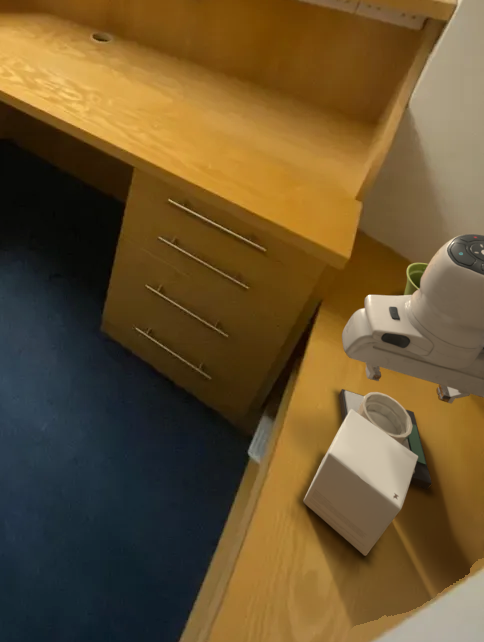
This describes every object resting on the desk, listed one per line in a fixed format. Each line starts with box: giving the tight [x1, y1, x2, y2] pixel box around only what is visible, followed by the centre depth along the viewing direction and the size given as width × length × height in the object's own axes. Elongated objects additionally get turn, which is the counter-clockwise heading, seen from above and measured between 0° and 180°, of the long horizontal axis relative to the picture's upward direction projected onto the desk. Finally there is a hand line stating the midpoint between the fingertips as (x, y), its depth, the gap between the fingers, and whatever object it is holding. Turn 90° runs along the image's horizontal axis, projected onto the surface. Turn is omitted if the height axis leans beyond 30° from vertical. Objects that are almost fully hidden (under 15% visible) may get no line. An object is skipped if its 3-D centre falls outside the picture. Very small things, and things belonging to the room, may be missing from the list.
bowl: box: [356, 391, 413, 445], centre depth 83 cm, size 7×7×4 cm
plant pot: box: [403, 262, 429, 295], centre depth 104 cm, size 9×9×9 cm
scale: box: [338, 388, 433, 490], centre depth 84 cm, size 11×11×3 cm
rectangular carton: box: [303, 409, 418, 557], centre depth 74 cm, size 9×9×15 cm
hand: (406, 386), depth 78 cm, fingers open, 8 cm apart
